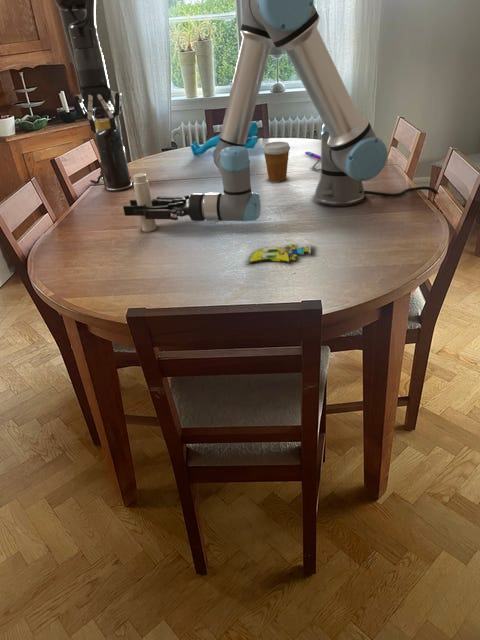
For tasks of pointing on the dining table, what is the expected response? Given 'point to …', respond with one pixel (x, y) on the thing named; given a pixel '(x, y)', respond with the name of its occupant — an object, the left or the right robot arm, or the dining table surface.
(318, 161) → the checkered curved strip
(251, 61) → the right robot arm
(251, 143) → the toy
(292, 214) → the dining table surface
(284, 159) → the disposable coffee cup
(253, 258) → the toy
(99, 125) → the lid
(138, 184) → the white bottle
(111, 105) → the left robot arm
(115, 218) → the dining table surface
